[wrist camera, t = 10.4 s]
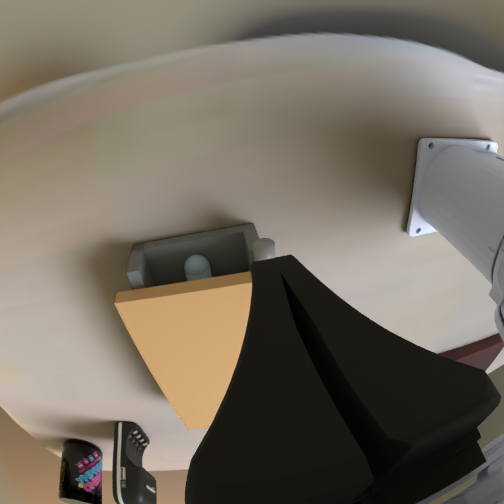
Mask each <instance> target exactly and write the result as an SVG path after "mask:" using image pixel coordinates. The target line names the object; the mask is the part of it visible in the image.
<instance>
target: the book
mask: <svg viewBox="0 0 504 504" xmlns="http://www.w3.org/2000/svg"><path fill="white" fill-rule="evenodd" d="M503 347H504V342H503V340H502V338H501V336H500V334H497V335H494V336H491V337H489V338H486V339H483V340H480V341H478V342H475V343H472V344H469V345H466V346H463V347H460V348H457V349H453V350H450V351H447V352H443V353H439V354H438V355H441V356H443V357H446V358H448V359H451V360H454V361H457V362H461V363H464V364H467V365H470V366H473V367H477V368H480V369H483V370H484V371H486V370H487V368H488V367H489V366H490V365H491V363H492V362H493V361H494V359H495V358H496V357H497V356H498V354H499V353H500V351H501V350H502V349H503Z"/></svg>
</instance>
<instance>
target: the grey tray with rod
mask: <svg viewBox="0 0 504 504" xmlns="http://www.w3.org/2000/svg"><path fill="white" fill-rule="evenodd" d="M271 258H275V244H274V241H273V240H271V239H268V238H261V239H259V237H258V234H257V231H256V229H255V226H254V223H253V224H247V225H241V226H235V227H230V228H224V229H218V230H212V231H206V232H201V233H195V234H190V235H184V236H179V237H173V238H168V239H162V240H157V241H152V242H146V243H141V244H136V245H133V247H132V251H131V254H130V258H129V262H128V267H127V271H126V274H127V277H128V279H129V282H130V284H131V286H132V289H133V290H135V289H142V288H148V287H155V286H162V285H168V284H174V283H181V282H187V281H194V280H200V279H206V278H212V277H219V276H225V275H231V274H237V273H243V272H249V271H250V265H251V264H252V263H253V262H255V261H260V260H266V259H271Z"/></svg>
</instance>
